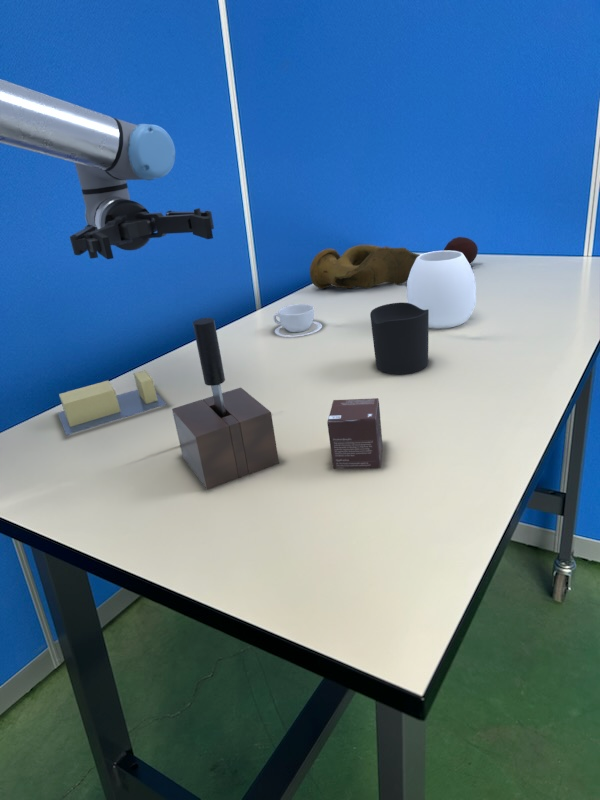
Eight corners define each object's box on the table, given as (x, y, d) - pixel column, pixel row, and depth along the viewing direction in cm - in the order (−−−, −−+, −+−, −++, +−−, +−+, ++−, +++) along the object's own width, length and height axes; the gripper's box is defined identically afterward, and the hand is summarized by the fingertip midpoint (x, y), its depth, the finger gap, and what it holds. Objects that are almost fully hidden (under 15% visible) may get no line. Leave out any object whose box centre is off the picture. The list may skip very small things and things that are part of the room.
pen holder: (431, 356, 109) (430, 301, 104) (428, 378, 100) (426, 319, 96) (378, 357, 111) (374, 303, 107) (370, 378, 103) (366, 321, 99)
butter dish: (67, 440, 96) (66, 434, 95) (59, 418, 104) (57, 412, 103) (167, 409, 102) (166, 404, 101) (151, 390, 110) (150, 385, 109)
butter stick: (70, 427, 98) (63, 404, 96) (65, 416, 102) (58, 394, 100) (120, 411, 101) (114, 389, 99) (114, 401, 105) (108, 380, 103)
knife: (225, 471, 82) (197, 326, 73) (217, 461, 84) (189, 320, 76) (243, 464, 83) (217, 321, 74) (235, 455, 85) (209, 315, 77)
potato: (483, 267, 158) (483, 236, 154) (449, 273, 157) (448, 242, 153) (470, 261, 165) (470, 231, 162) (436, 266, 164) (436, 237, 161)
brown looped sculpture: (370, 273, 136) (300, 250, 149) (379, 319, 145) (312, 294, 158) (421, 230, 143) (350, 212, 157) (426, 277, 152) (358, 256, 166)
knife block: (207, 493, 77) (195, 436, 74) (183, 460, 86) (171, 408, 82) (279, 466, 81) (271, 411, 78) (249, 437, 89) (240, 387, 86)
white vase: (396, 330, 123) (392, 263, 117) (426, 310, 132) (424, 246, 126) (459, 337, 115) (458, 265, 109) (486, 315, 124) (487, 248, 119)
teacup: (326, 322, 133) (324, 301, 131) (316, 338, 124) (313, 316, 122) (282, 323, 136) (279, 302, 134) (268, 339, 127) (265, 317, 125)
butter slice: (146, 404, 102) (140, 382, 100) (138, 394, 106) (133, 373, 105) (157, 400, 103) (152, 378, 101) (150, 391, 107) (145, 369, 105)
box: (383, 447, 82) (380, 397, 79) (381, 471, 77) (376, 419, 74) (338, 448, 83) (332, 399, 80) (332, 472, 78) (326, 420, 75)
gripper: (202, 233, 105) (251, 248, 87) (49, 263, 96) (70, 286, 78) (194, 186, 102) (243, 192, 84) (35, 213, 93) (53, 226, 75)
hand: (160, 238), depth 81 cm, fingers open, 13 cm apart
